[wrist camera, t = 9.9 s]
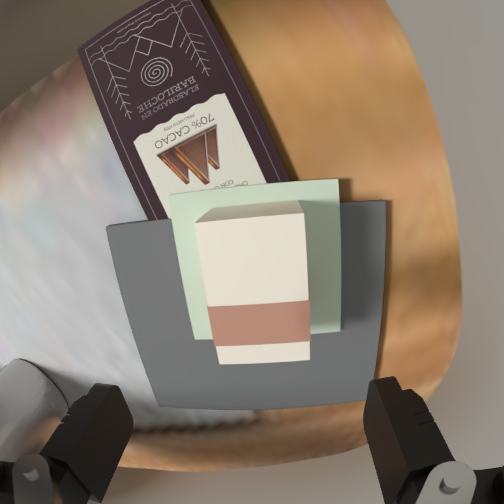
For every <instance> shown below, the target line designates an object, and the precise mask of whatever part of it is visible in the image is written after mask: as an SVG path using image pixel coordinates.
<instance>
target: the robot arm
mask: <svg viewBox="0 0 504 504" xmlns="http://www.w3.org/2000/svg"><path fill="white" fill-rule="evenodd" d="M363 424H364V430H365V434H366V437H367V441H368V444H369V447H370V451H371V454H372V458H373V461H374V465H375V469H376V472H377V475H378V479H379V483H380V487H381V490H382V494H383V498H384V502H385V504H504V466H503V467H498V468H491V469H484V470H472V469H471V468H470V467H469V466H468V465H466V464H464V463H462V462H456V461H455V459H454V458H453V456H452V454H451V452H450V450H449V448H448V446H447V444H446V442H445V440H444V438H443V436H442V434H441V432H440V430H439V428H438V426H437V424H436V423H435V422H434V419H433V417H432V415H431V413H430V412H429V410H428V407H427V406H426V404H425V402H424V400H423V398H422V397H420V396H419V395H418V394H417V393H415V392H414V391H413V390H412V389H407V390H403V391H402V389H401V387H400V385H399V383H398V381H397V379H396V378H395V377H394V376H391V377H386V378H380V379H374V380H371V381H370V382H369V386H368V392H367V398H366V403H365V409H364V414H363ZM132 431H133V418H132V415H131V413H130V411H129V409H128V406H127V404H126V402H125V399H124V397H123V395H122V392H121V390H120V388H119V387H118V386H116V385H109V384H101V383H96V384H95V385H94V386H93V387H92V388H91V390H90V391H89V393H88V394H87V396H85V395H84V396H83V397H81V398H80V399H79V400H77V401H76V402H75V403H73V405H72V406H71V407H70V409H69V410H68V406H67V403H66V401H65V399H64V397H63V396H62V394H61V392H60V391H59V390H58V388H57V387H56V386H55V385H54V384H53V382H52V381H51V380H50V379H49V378H48V377H47V376H46V375H45V374H44V373H42V372H41V371H40V370H39V369H37V368H36V367H35V366H33V365H32V364H30V363H28V362H26V361H24V360H20V359H16V360H13V361H12V362H11V363H10V364H8V365H5V366H4V367H3V368H2V369H1V370H0V504H87V502H88V500H92V501H96V502H99V503H101V502H102V500H103V498H104V495H105V493H106V491H107V488H108V486H109V484H110V481H111V479H112V477H113V474H114V472H115V470H116V467H117V465H118V463H119V461H120V459H121V456H122V454H123V452H124V450H125V447H126V445H127V443H128V441H129V438H130V436H131V434H132Z"/></svg>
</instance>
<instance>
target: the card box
mask: <svg viewBox="0 0 504 504" xmlns="http://www.w3.org/2000/svg"><path fill="white" fill-rule="evenodd" d="M194 225H195V231H196V238H197V244H198V251H199V257H200V263H201V269H202V275H203V281H204V286H205V292H206V298H207V303H208V306H207V310H208V315H209V320H210V326H211V331H212V336H213V341H214V346H216V350H217V355H218V360H219V364H253V363H274V362H290V361H303V360H310V341H311V332H310V300H309V295H308V273H307V253H306V236H305V220H304V212H303V210H302V208H301V206H300V204H299V202H298V200H293V201H281V202H269V203H258V204H247V205H237V206H227V207H217V208H211V209H210V210H209V211H207V212H206V213H205V214H204V215H203V216H202V217H200V218H199V219H198V220H197V221H196V222H195V223H194Z"/></svg>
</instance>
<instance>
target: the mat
mask: <svg viewBox="0 0 504 504" xmlns="http://www.w3.org/2000/svg"><path fill="white" fill-rule="evenodd" d="M168 199H169V206H170V213H171V218H170V219H162V220H154V221H149V220H144V221H136V222H128V223H121V224H114V225H109V226H107V227H106V231H107V236H108V241H109V246H110V250H111V255H112V259H113V263H114V268H115V272H116V276H117V280H118V284H119V287H120V291H121V295H122V299H123V302H124V306H125V309H126V313H127V316H128V319H129V323H130V326H131V329H132V333H133V336H134V339H135V342H136V345H137V348H138V351H139V354H140V357H141V360H142V363H143V365H144V368H145V371H146V374H147V377H148V379H149V382H150V385H151V387H152V390H153V392H154V395H155V397H156V400H157V402H158V405H159V406H161V407H174V408H189V409H214V410H259V409H284V408H299V407H312V406H322V405H332V404H340V403H348V402H356V401H362V400H366V398H367V392H368V386H369V382H370V381H371V380H373V379H374V372H375V366H376V359H377V351H378V343H379V335H380V325H381V315H382V304H383V290H384V273H385V246H386V201H384V200H368V201H350V202H339V185H338V179H320V180H305V181H291V182H278V183H267V184H256V185H245V186H236V187H226V188H217V189H209V190H200V191H192V192H185V193H177V194H170V195H168ZM293 200H298V202H299V204H300V206H301V208H302V210H303V212H304V220H305V236H306V253H307V273H308V295H309V300H310V332H311V341H310V360H303V361H290V362H274V363H253V364H219V360H218V355H217V350H216V346H214V341H213V336H212V331H211V326H210V320H209V315H208V310H207V306H208V303H207V298H206V292H205V286H204V281H203V275H202V269H201V263H200V257H199V251H198V244H197V238H196V231H195V225H194V223H195V222H196V221H197V220H198V219H199V218H200V217H202V216H203V215H204V214H205V213H206V212H207V211H209V210H210V209H211V208H217V207H227V206H237V205H247V204H258V203H269V202H281V201H293Z"/></svg>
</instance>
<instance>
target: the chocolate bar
mask: <svg viewBox="0 0 504 504" xmlns="http://www.w3.org/2000/svg"><path fill="white" fill-rule="evenodd" d="M77 50H78V53H79V55H80V58H81V61H82V64H83V67H84V70H85V73H86V75H87V78H88V81H89V84H90V86H91V89H92V92H93V94H94V97H95V99H96V102H97V105H98V107H99V110H100V112H101V115H102V117H103V120H104V122H105V125H106V127H107V130H108V132H109V134H110V137H111V139H112V141H113V144H114V146H115V149H116V151H117V153H118V155H119V158H120V160H121V162H122V165H123V167H124V169H125V171H126V174H127V176H128V178H129V180H130V182H131V184H132V187H133V189H134V191H135V193H136V195H137V197H138V199H139V202H140V204H141V206H142V208H143V210H144V212H145V214H146V216H147V218H148V220H149V221H154V220H162V219H170V218H171V213H170V206H169V199H168V195H170V194H177V193H185V192H192V191H200V190H209V189H217V188H226V187H236V186H245V185H256V184H267V183H278V182H291V181H290V179H289V176H288V174H287V172H286V169H285V167H284V165H283V163H282V160H281V158H280V156H279V154H278V152H277V149H276V147H275V145H274V143H273V141H272V138H271V136H270V134H269V132H268V130H267V128H266V125H265V123H264V121H263V119H262V117H261V115H260V113H259V111H258V109H257V107H256V105H255V102H254V100H253V98H252V96H251V94H250V92H249V90H248V88H247V86H246V84H245V82H244V80H243V78H242V76H241V74H240V72H239V70H238V68H237V66H236V64H235V63H234V61H233V59H232V57H231V55H230V53H229V51H228V49H227V47H226V45H225V43H224V42H223V40H222V38H221V36H220V34H219V32H218V31H217V29H216V27H215V25H214V23H213V21H212V20H211V18H210V16H209V14H208V13H207V11H206V9H205V7H204V5H203V4H202V2H201V0H151V1H149V2H147V3H145V4H144V5H142V6H140V7H138V8H137V9H135V10H134V11H132V12H130V13H128V14H127V15H125V16H124V17H122V18H121V19H119V20H117V21H116V22H114V23H113V24H111V25H110V26H109V27H107V28H105V29H104V30H102V31H101V32H100V33H98V34H97V35H96V36H94V37H93V38H91V39H90V40H89V41H87V42H86V43H85V44H83V45H82V46H81V47H79V48H78V49H77Z"/></svg>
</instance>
